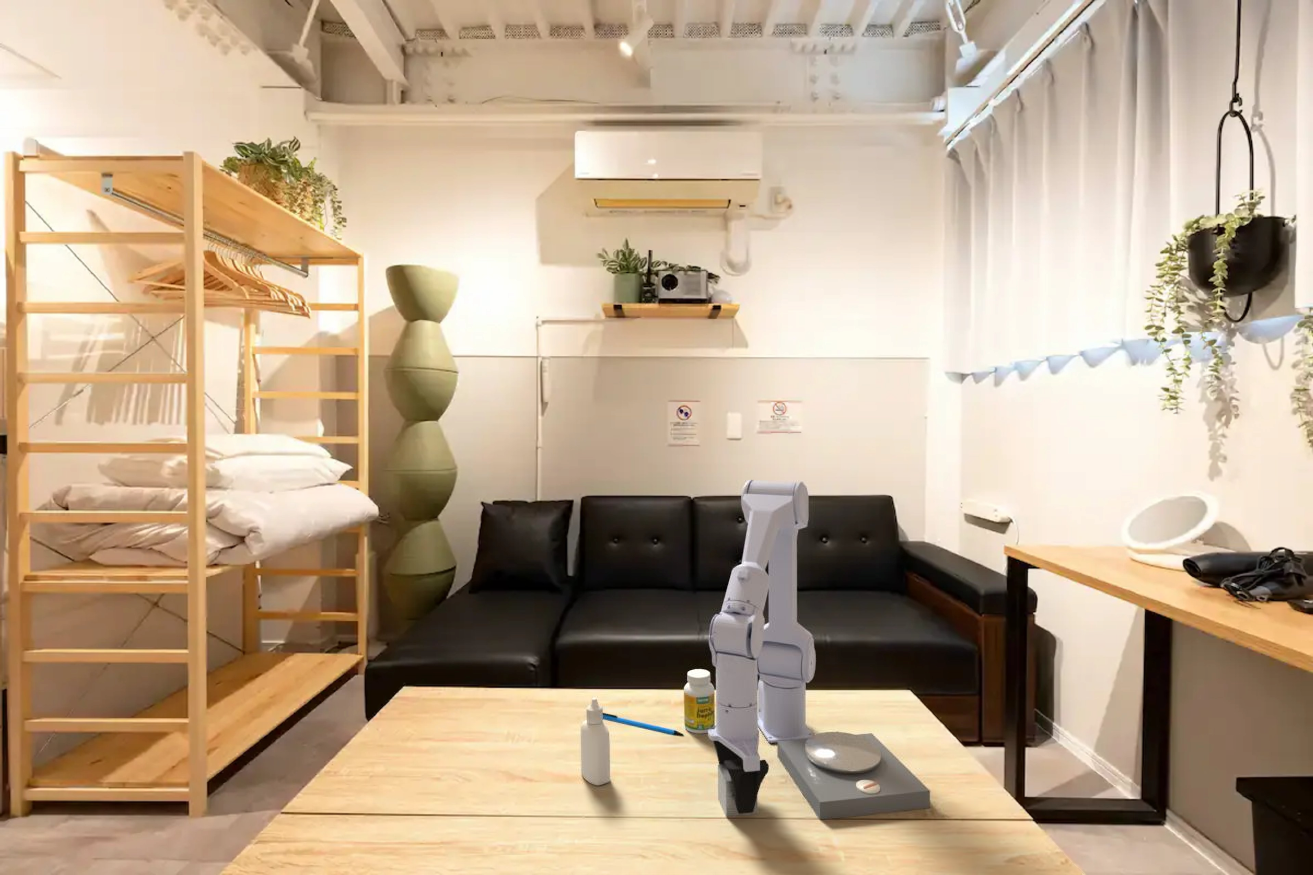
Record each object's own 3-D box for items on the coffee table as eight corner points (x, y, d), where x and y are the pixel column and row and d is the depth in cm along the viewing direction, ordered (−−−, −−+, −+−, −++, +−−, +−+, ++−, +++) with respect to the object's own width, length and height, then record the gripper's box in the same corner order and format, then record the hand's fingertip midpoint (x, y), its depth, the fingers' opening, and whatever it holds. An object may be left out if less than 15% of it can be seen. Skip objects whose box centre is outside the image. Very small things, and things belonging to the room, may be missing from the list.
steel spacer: (718, 799, 95) (717, 764, 95) (748, 796, 96) (747, 761, 96) (726, 817, 91) (725, 781, 91) (757, 814, 92) (757, 778, 92)
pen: (590, 714, 123) (590, 708, 123) (685, 736, 115) (685, 729, 115) (587, 716, 123) (587, 710, 123) (682, 738, 114) (682, 731, 114)
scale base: (777, 756, 107) (777, 739, 107) (871, 747, 110) (871, 731, 109) (819, 819, 90) (819, 799, 90) (929, 807, 93) (930, 788, 93)
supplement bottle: (702, 717, 121) (702, 664, 121) (721, 729, 117) (720, 674, 116) (678, 725, 118) (677, 671, 118) (696, 737, 114) (695, 681, 113)
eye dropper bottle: (609, 766, 105) (608, 690, 104) (610, 786, 99) (609, 705, 99) (581, 767, 104) (580, 691, 104) (580, 787, 99) (579, 707, 98)
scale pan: (794, 739, 106) (794, 734, 106) (860, 733, 108) (860, 728, 108) (822, 776, 96) (822, 771, 95) (894, 769, 97) (894, 763, 97)
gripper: (697, 680, 100) (697, 770, 100) (721, 725, 85) (722, 830, 86) (743, 677, 101) (743, 766, 101) (775, 720, 86) (775, 824, 87)
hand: (737, 795), depth 94 cm, fingers open, 7 cm apart
